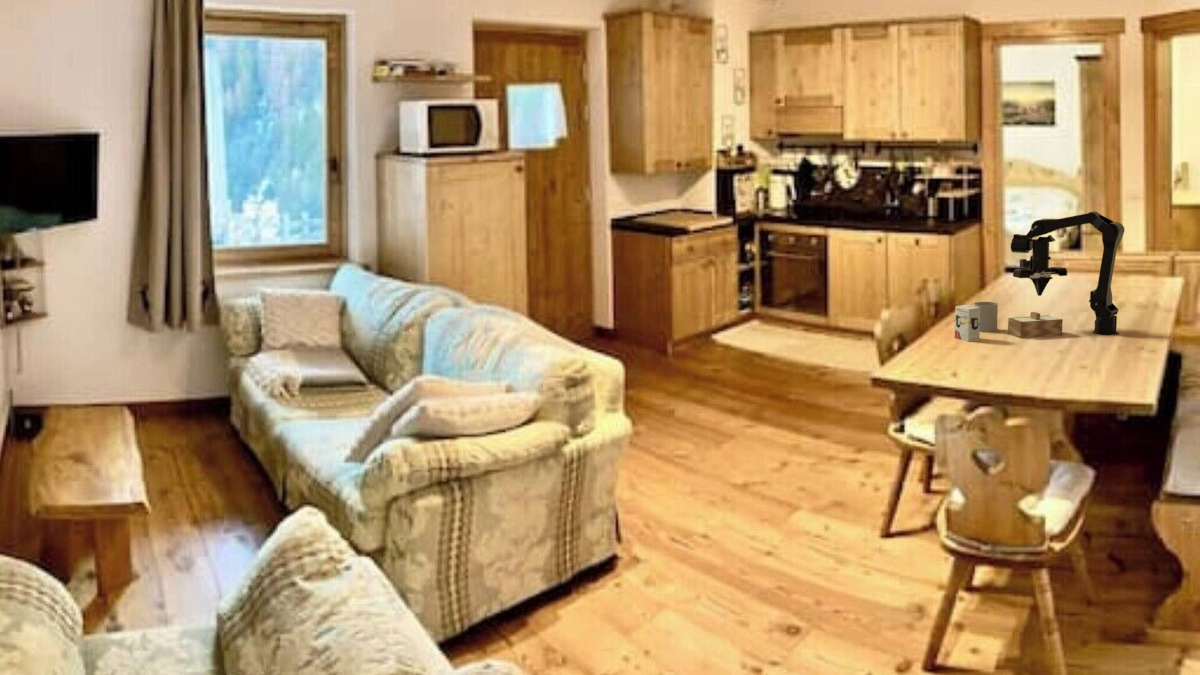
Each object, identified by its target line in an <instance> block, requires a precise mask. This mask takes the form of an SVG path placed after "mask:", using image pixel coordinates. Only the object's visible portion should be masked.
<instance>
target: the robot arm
mask: <svg viewBox="0 0 1200 675" xmlns="http://www.w3.org/2000/svg"><path fill="white" fill-rule="evenodd" d="M1088 224H1090V225H1092V227H1094V229H1096V230H1097V231H1098V232H1100V233H1101V238H1102V239H1101V241H1102V246H1103V249H1102V250H1103V251H1102V256H1101V257H1102V258H1101V262H1100V268H1099V275H1098V282H1097V286H1096V289H1093V290H1091V291H1090V292H1089V300H1088V303H1089V308H1090V309H1091V310H1092V311H1093V312H1094V315H1095V320H1094V330H1092V332H1093V333H1095V334H1099V335H1119V334H1120V332H1119V331H1117V323H1118V321H1117V319H1118V316H1117V315H1118V313H1119V308H1118V307H1117V306H1116V305H1115V304H1114V303H1113V292H1112V280H1113V273H1114V268H1115V263H1116V256H1117V250H1118V248H1119V245H1120V243H1121V242H1122V239H1123V236H1124V234H1125V227H1124V225H1123V224H1122V223H1121V222H1118V221H1114V220H1112V219H1110V218H1108V217H1106V216H1105V215H1102V214H1100V213H1099V212H1098V211H1094V210H1093V211H1089V212H1087V213H1083V214H1082V213H1081V214H1077V215H1073V216H1066V217H1062V218H1061V217H1060V218H1041V219H1037V220H1035V221H1033V222H1032V224H1031V226H1030V227H1031V228H1030V230H1029V231H1028V232H1027V234H1019V233H1015V234H1013V235H1012V236H1013V238H1012V239H1011V243H1010V251H1011V253H1019V254H1023V253H1024V254H1029V253H1030V251H1032V255H1030V257H1029V260H1027V259H1026V258H1022V259H1019V268H1015V269H1014V270H1013V272H1012V277H1013V278H1018V279H1030V281H1032V283H1033V287H1034V288H1035V291H1036V292H1035V293H1036V294H1037V296H1038V297H1041V296H1042V295H1043V293H1044V291H1045V289H1046V287H1047V286H1048V283H1049V282H1050V280H1053V279H1054V278H1053V276H1052V275H1058V276H1059V277H1066V276H1068V269H1067V267H1062V266H1050V267H1049V263H1050V262H1049V261H1050V260H1051V259H1052V257H1051V256H1050V243H1052V242H1055V241H1056V239H1055V237H1053V236H1052V235H1051V233H1053V232H1056V231H1058V230H1060V229H1065V228H1066V229H1067V228H1071V227H1077V226H1082V225H1088ZM1044 235H1047V236H1044Z"/></svg>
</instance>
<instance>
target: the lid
mask: <svg viewBox="0 0 1200 675" xmlns="http://www.w3.org/2000/svg"><path fill="white" fill-rule="evenodd" d="M1040 316H1042V317H1040ZM1026 317H1027V318H1017V317H1011V318H1012V319H1015V320H1019V321H1022V322H1025V321H1040V320H1056V319H1060V318H1058V317H1055V316H1051V315H1050V316H1048V315H1041V313H1040V312H1036V311H1030V315H1029V316H1026Z"/></svg>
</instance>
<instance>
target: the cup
mask: <svg viewBox="0 0 1200 675" xmlns="http://www.w3.org/2000/svg"><path fill="white" fill-rule="evenodd" d="M973 306H975V307H979V308H980V333H995V332H997V331H998V311H999V310H998V306H999V304H998V303H997V302H993V301H978V302H974V304H973Z"/></svg>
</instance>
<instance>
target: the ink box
mask: <svg viewBox="0 0 1200 675" xmlns="http://www.w3.org/2000/svg"><path fill="white" fill-rule="evenodd" d="M954 314H955V320H954V322H955V323H954V338H955V339H957V338H958V340H961V341H964V340H965V342H975V341H980V335H981V334H980V333H981V332H980V308H979V307H975V306H974V305H969V304H962V305H955V313H954Z"/></svg>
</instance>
